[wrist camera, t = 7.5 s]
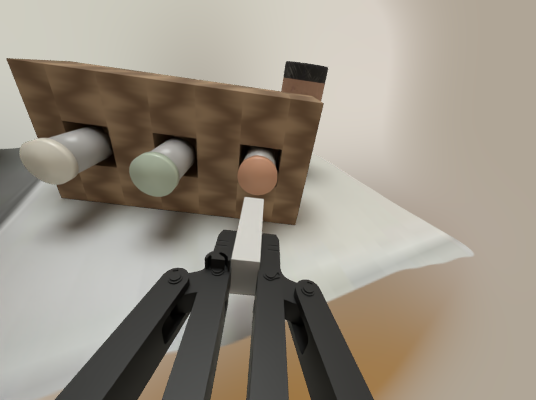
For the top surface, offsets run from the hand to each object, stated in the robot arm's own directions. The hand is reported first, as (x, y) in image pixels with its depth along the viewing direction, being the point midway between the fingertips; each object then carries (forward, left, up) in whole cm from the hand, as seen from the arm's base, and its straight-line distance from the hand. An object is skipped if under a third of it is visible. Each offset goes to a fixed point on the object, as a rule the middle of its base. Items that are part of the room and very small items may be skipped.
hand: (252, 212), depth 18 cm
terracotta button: (0, +11, -3) cm, 11 cm away
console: (-10, +15, -8) cm, 20 cm away
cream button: (-20, +8, -3) cm, 22 cm away
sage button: (-10, +8, -3) cm, 13 cm away
